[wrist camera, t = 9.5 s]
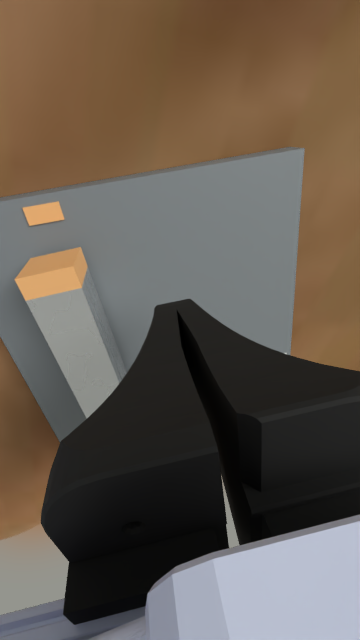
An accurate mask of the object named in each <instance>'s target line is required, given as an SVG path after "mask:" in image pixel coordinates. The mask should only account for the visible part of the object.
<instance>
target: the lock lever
mask: <svg viewBox="0 0 360 640" xmlns="http://www.w3.org/2000/svg"><path fill="white" fill-rule="evenodd" d="M15 281H16V283H17V285H18V287H19V289H20V291H21V293H22V295H23V297H24V299H25V301H26V303H27V305H28V306H29V308H30V310H31V312H32V314H33V316H34V318H35V320H36V322H37V324H38V326H39V328H40V330H41V332H42V333H43V335H44V337H45V339H46V341H47V343H48V345H49V347H50V349H51V351H52V353H53V355H54V357H55V358H56V360H57V362H58V364H59V366H60V368H61V370H62V372H63V374H64V376H65V378H66V380H67V382H68V384H69V385H70V387H71V389H72V391H73V393H74V395H75V397H76V399H77V401H78V403H79V405H80V407H81V409H82V411H83V412H84V414H85V416H86V418H88V417H89V416H90V415H91V414H92V413H93V412H94V411H95V410H96V409H97V408H98V407H99V406H100V405H101V404H102V403H103V402H104V401H105V400H106V399H107V398H108V397H109V396H110V395H111V393H112V392H113V391H114V390H115V388H116V387H117V386H118V385H119V383H120V382H121V380H122V379H123V378H124V376H125V375H126V374H127V372H126V369H125V367H124V364H123V361H122V359H121V356H120V353H119V350H118V348H117V345H116V342H115V339H114V337H113V334H112V331H111V329H110V326H109V323H108V320H107V318H106V315H105V312H104V309H103V307H102V304H101V301H100V298H99V296H98V293H97V290H96V288H95V285H94V282H93V279H92V277H91V274H90V271H89V268H88V266H87V263H86V260H85V258H84V255H83V252H82V249H81V247H78V248H74V249H69V250H65V251H60V252H56V253H51V254H47V255H42V256H38V257H33V258H30V260H29V261H28V262H27V264H26V265H25V266H24V268H23V269H22V270H21V272H20V273H19V274H18V275H17V277H16V278H15Z"/></svg>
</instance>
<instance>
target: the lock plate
mask: <svg viewBox="0 0 360 640" xmlns="http://www.w3.org/2000/svg"><path fill="white" fill-rule="evenodd" d="M303 162H304V148H296V147H287V148H281V149H275V150H270V151H264V152H258V153H253V154H247V155H241V156H235V157H230V158H224V159H218V160H212V161H207V162H201V163H195V164H190V165H184V166H178V167H172V168H167V169H161V170H155V171H150V172H144V173H138V174H132V175H127V176H121V177H115V178H110V179H104V180H98V181H92V182H87V183H81V184H75V185H69V186H64V187H58V188H52V189H47V190H41V191H35V192H29V193H24V194H18V195H12V196H7V197H1V198H0V337H1V339H2V340H3V342H4V344H5V346H6V348H7V349H8V351H9V353H10V355H11V356H12V358H13V360H14V362H15V364H16V365H17V367H18V369H19V371H20V372H21V374H22V376H23V378H24V379H25V381H26V383H27V385H28V387H29V388H30V390H31V392H32V394H33V395H34V397H35V399H36V401H37V403H38V404H39V406H40V408H41V410H42V411H43V413H44V415H45V417H46V419H47V420H48V422H49V424H50V426H51V427H52V429H53V431H54V433H55V435H56V436H57V438H58V440H59V442H61V440H63V439H64V438H65V437H66V436H68V435H69V434H70V433H71V432H72V431H73V430H74V429H76V428H77V427H78V426H79V425H80V424H81V423H82V422H84V421H85V420H86V419H87V418H86V416H85V414H84V412H83V411H82V409H81V407H80V405H79V403H78V401H77V399H76V397H75V395H74V393H73V391H72V389H71V387H70V385H69V384H68V382H67V380H66V378H65V376H64V374H63V372H62V370H61V368H60V366H59V364H58V362H57V360H56V358H55V357H54V355H53V353H52V351H51V349H50V347H49V345H48V343H47V341H46V339H45V337H44V335H43V333H42V332H41V330H40V328H39V326H38V324H37V322H36V320H35V318H34V316H33V314H32V312H31V310H30V308H29V306H28V305H27V303H26V301H25V299H24V297H23V295H22V293H21V291H20V289H19V287H18V285H17V283H16V281H15V278H16V277H17V275H18V274H19V273H20V272H21V270H22V269H23V268H24V266H25V265H26V264H27V262H28V261H29V260H30V258H33V257H38V256H42V255H47V254H51V253H56V252H60V251H65V250H69V249H74V248H78V247H81V249H82V252H83V255H84V258H85V260H86V263H87V266H88V268H89V271H90V274H91V277H92V279H93V282H94V285H95V288H96V290H97V293H98V296H99V298H100V301H101V304H102V307H103V309H104V312H105V315H106V318H107V320H108V323H109V326H110V329H111V331H112V334H113V337H114V339H115V342H116V345H117V348H118V350H119V353H120V356H121V359H122V361H123V364H124V367H125V369H126V372H128V371H129V369H130V367H131V366H132V364H133V363H134V361H135V359H136V357H137V355H138V354H139V352H140V350H141V347H142V345H143V343H144V341H145V339H146V337H147V334H148V331H149V328H150V326H151V322H152V319H153V315H154V308H155V307H156V305H160V304H165V303H170V302H175V301H180V300H185V299H191V300H193V301H194V302H195V303H196V304H198V305H199V306H200V307H201V308H202V309H203V310H205V311H206V312H207V313H208V314H210V315H211V316H212V317H214V318H215V319H217V320H218V321H219V322H221V323H222V324H224V325H225V326H227V327H228V328H230V329H231V330H233V331H235V332H236V333H238V334H240V335H242V336H244V337H246V338H248V339H250V340H252V341H254V342H256V343H258V344H261V345H263V346H266V347H268V348H271V349H273V350H276V351H279V352H282V353H284V354H287V355H290V350H291V335H292V321H293V306H294V292H295V277H296V263H297V249H298V234H299V220H300V205H301V191H302V176H303Z"/></svg>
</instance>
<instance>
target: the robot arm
mask: <svg viewBox="0 0 360 640" xmlns="http://www.w3.org/2000/svg"><path fill="white" fill-rule="evenodd" d="M221 475H222V479H223V482H224V486H225V490H226V493H227V497H228V502H229V505H230V509H231V513H232V517H233V521H234V525H235V529H236V533H237V536H238V541H239V544H240V546H236V547H233V548H229V545H228V537H227V529H226V524H227V521H226V512H225V504H224V496H223V488H222V479H221ZM41 524H42V526H43V528H44V530H45V532H46V534H47V535H48V536H49V537H50V539H51V540H52V541H53V542H54V544H55V545H56V546H57V547H58V549H59V550H60V551H61V552H62V553H63V555H64V556H65V557H66V558H67V559H68V561H69V568H68V577H67V584H66V592H65V598H64V599H61V600H57V601H53V602H49V603H45V604H41V605H38V606H34V607H30V608H26V609H22V610H18V611H14V612H10V613H6V614H3V615H0V640H360V372H359V371H354V370H349V369H344V368H339V367H333V366H328V365H323V364H319V363H315V362H311V361H308V360H304V359H300V358H297V357H294V356H290V355H287V354H284V353H282V352H279V351H276V350H273V349H271V348H268V347H266V346H263V345H261V344H258V343H256V342H254V341H252V340H250V339H248V338H246V337H244V336H242V335H240V334H238V333H236V332H235V331H233V330H231V329H230V328H228V327H227V326H225V325H224V324H222V323H221V322H219V321H218V320H217V319H215V318H214V317H212V316H211V315H210V314H208V313H207V312H206V311H205V310H203V309H202V308H201V307H200V306H199V305H198V304H196V303H195V302H194V301H193V300H191V299H185V300H180V301H175V302H170V303H165V304H160V305H156V307H155V308H154V315H153V319H152V322H151V326H150V328H149V331H148V334H147V337H146V339H145V341H144V343H143V345H142V347H141V350H140V352H139V354H138V355H137V357H136V359H135V361H134V363H133V364H132V366H131V367H130V369H129V371H128V372H127V374H126V375H125V376H124V378H123V379H122V380H121V382H120V383H119V385H118V386H117V387H116V388H115V390H114V391H113V392H112V393H111V395H110V396H109V397H108V398H107V399H106V400H105V401H104V402H103V403H102V404H101V405H100V406H99V407H98V408H97V409H96V410H95V411H94V412H93V413H92V414H91V415H90V416H89V417H88V418H87V419H86V420H85V421H84V422H82V423H81V424H80V425H79V426H78V427H77V428H76V429H74V430H73V431H72V432H71V433H70V434H69V435H68V436H66V437H65V438H64V439H63V440H61V442H60V445H59V448H58V451H57V454H56V457H55V459H54V462H53V465H52V468H51V471H50V475H49V479H48V484H47V488H46V493H45V498H44V503H43V507H42V513H41Z"/></svg>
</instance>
